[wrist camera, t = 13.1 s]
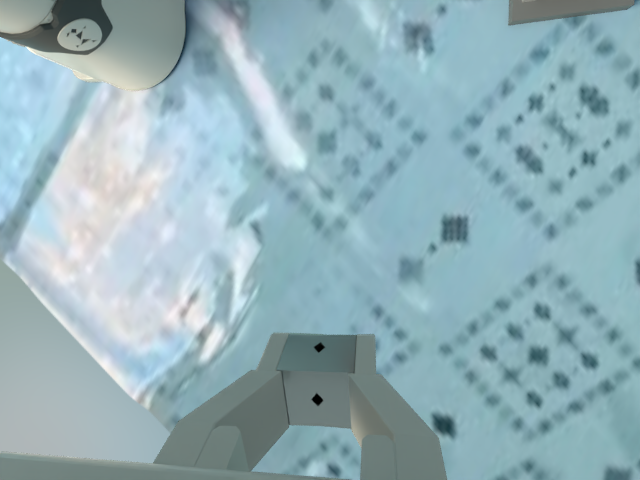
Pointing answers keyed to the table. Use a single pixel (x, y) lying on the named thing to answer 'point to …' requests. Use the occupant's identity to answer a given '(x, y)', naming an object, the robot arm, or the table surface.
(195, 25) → the table surface
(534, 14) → the grey flat rectangular frame
